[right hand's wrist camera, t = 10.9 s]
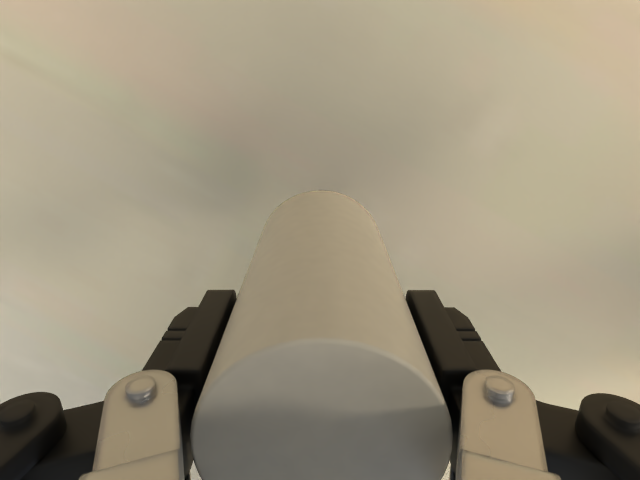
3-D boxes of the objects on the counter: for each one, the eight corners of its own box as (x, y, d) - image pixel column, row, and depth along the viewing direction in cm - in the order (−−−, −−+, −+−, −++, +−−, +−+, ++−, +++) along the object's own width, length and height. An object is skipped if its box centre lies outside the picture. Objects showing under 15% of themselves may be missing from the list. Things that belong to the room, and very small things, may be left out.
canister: (390, 197, 16) (485, 355, 7) (369, 307, 18) (422, 550, 9) (265, 182, 16) (191, 324, 7) (256, 294, 18) (186, 530, 8)
